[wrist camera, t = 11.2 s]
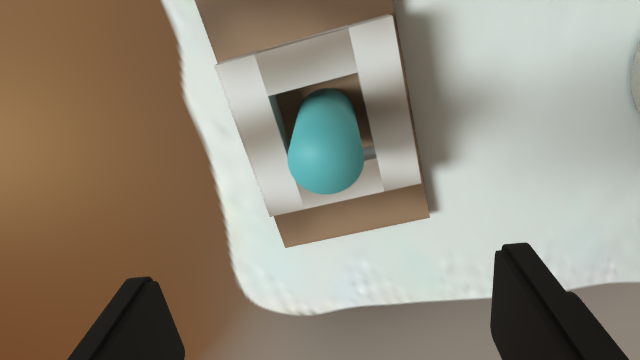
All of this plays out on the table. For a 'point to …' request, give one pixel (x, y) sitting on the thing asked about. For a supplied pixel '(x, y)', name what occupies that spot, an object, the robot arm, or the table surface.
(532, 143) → the table surface
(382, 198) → the socket board
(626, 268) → the table surface
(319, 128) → the peg
